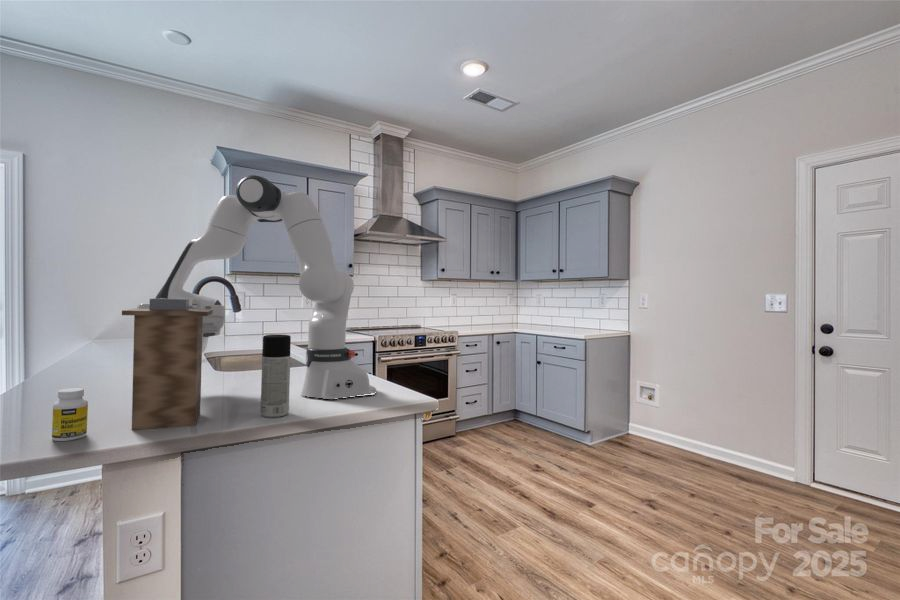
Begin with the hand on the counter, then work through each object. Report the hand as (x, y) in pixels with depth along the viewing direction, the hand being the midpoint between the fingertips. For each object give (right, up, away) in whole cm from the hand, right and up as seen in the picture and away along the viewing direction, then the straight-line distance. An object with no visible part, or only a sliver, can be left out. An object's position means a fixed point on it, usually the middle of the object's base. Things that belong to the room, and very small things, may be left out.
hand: (179, 301), depth 111 cm
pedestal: (+3, -28, -10) cm, 30 cm away
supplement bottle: (-9, -28, -22) cm, 37 cm away
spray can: (+25, -29, -1) cm, 38 cm away
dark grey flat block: (+2, -2, -5) cm, 6 cm away
